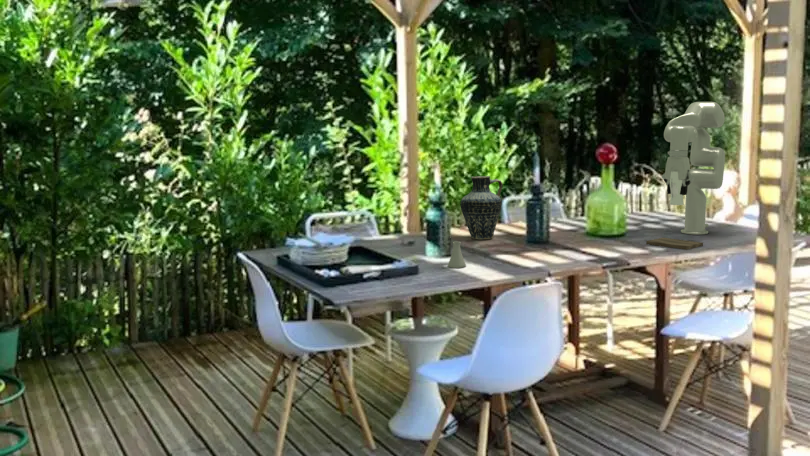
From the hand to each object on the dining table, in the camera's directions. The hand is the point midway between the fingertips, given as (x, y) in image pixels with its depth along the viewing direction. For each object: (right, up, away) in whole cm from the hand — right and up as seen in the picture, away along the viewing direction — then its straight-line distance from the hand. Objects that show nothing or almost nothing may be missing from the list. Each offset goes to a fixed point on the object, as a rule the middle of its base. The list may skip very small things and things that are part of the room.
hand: (677, 194), depth 368 cm
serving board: (0, -23, +3) cm, 23 cm away
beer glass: (0, -5, +1) cm, 5 cm away
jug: (-85, -20, +26) cm, 91 cm away
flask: (-101, -31, -42) cm, 114 cm away
